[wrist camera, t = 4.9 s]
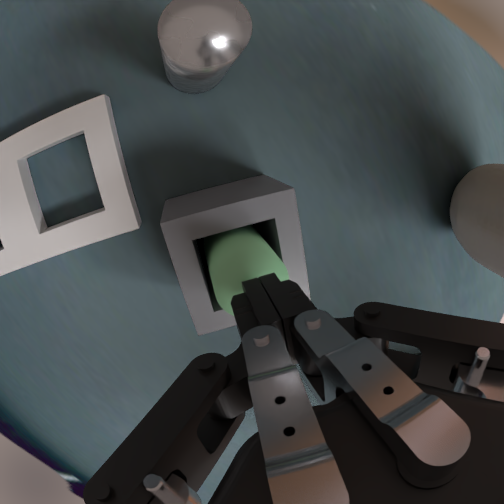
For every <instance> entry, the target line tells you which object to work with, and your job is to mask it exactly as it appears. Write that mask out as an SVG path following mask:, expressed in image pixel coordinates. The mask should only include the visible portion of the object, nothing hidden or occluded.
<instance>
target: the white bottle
mask: <svg viewBox="0 0 504 504" xmlns="http://www.w3.org/2000/svg"><path fill="white" fill-rule="evenodd" d="M450 220H451V225H452V229H453V232H454V234H455V236H456V238H457V239H458V241H459V242H460V244H461V245H462V247H463V248H464V249H465V251H466V252H467V253H468V254H469V255H470V256H471V257H472V258H473V259H474V260H476V261H477V262H478V263H480V264H481V265H483V266H484V267H486V268H488V269H489V270H491V271H493V272H494V273H496V274H498V275H500V276H501V277H503V278H504V164H486V165H482V166H479V167H476V168H474V169H472V170H471V171H470V172H468V173H467V174H466V175H465V176H464V177H463V179H462V180H461V181H460V182H459V183H458V185H457V186H456V188H455V190H454V193H453V196H452V199H451V206H450Z"/></svg>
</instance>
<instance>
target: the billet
mask: <svg viewBox="0 0 504 504" xmlns="http://www.w3.org/2000/svg"><path fill="white" fill-rule="evenodd" d="M157 31H158V38H159V43H160V48H161V53H162V58H163V63H164V67H165V72H166V76H167V78H168V80H169V82H170V83H171V84H172V86H174V87H175V88H176V89H178V90H179V91H181V92H184V93H188V94H199V93H204V92H206V91H209V90H211V89H212V88H214V87H215V86H216V85H217V84H218V83H219V82H220V81H221V79H222V78H223V77H224V75H225V74H226V72H227V71H228V70H229V68H230V67H231V66H232V64H233V63H234V62H235V60H236V59H237V58H238V56H239V55H240V54H241V52H242V51H243V50H244V48H245V47H246V45H247V44H248V42H249V40H250V37H251V33H252V21H251V17H250V14H249V13H248V11H247V9H246V8H245V6H244V5H243V4H242V3H241V2H240V1H239V0H173V1H172V2H170V3H169V4H168V5H167V7H166V8H165V9H164V10H163V12H162V14H161V16H160V19H159V22H158V30H157Z"/></svg>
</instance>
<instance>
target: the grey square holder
mask: <svg viewBox="0 0 504 504" xmlns="http://www.w3.org/2000/svg"><path fill="white" fill-rule="evenodd" d="M254 223H255V224H256V228H257V232H258V233H259V234H260V235H261V236H262V238H263V239H264V240H265V241H266V242H267V244H268V245H269V246H270V247H271V249H272V250H273V251H274V252H275V253H276V255H277V256H278V257H279V258H280V259H281V261H282V262H283V263H284V265H285V266H286V268H287V271H288V275H289V280H291V281H293V282H295V283H297V284H298V285H299V286H300V288H301V289H302V290H303V292H304V293H305V295H307V297H308V298H309V299H310V291H309V283H308V276H307V268H306V261H305V254H304V247H303V240H302V233H301V227H300V220H299V214H298V208H297V202H296V196H295V190H294V188H293V187H290V186H288V185H286V184H284V183H282V182H280V181H277V180H275V179H273V178H271V177H268V176H266V175H260V176H255V177H251V178H247V179H243V180H239V181H235V182H231V183H227V184H223V185H219V186H215V187H211V188H207V189H204V190H200V191H196V192H192V193H189V194H185V195H182V196H178V197H175V198H171V199H168V200H165V204H164V208H163V212H162V217H161V221H160V225H161V228H162V232H163V235H164V238H165V241H166V244H167V248H168V251H169V254H170V257H171V260H172V263H173V266H174V269H175V272H176V275H177V278H178V281H179V284H180V286H181V289H182V292H183V295H184V298H185V301H186V303H187V306H188V309H189V312H190V314H191V317H192V320H193V322H194V325H195V328H196V330H197V333H198V336H199V335H203V334H207V333H210V332H214V331H217V330H221V329H224V328H228V327H231V326H235V325H237V324H236V321H235V317H234V316H233V315H231V314H229V313H227V312H226V311H225V310H224V309H222V307H221V306H220V305H219V303H218V302H217V299H216V296H215V293H214V289H213V284H212V280H211V276H210V272H209V268H207V269H204V266H203V262H202V259H201V256H200V252H199V249H198V245H197V242H196V239H199V238H203V237H206V236H210V235H213V234H217V233H221V232H224V231H228V230H232V229H235V228H239V227H243V226H246V225H250V224H254ZM310 300H311V299H310Z"/></svg>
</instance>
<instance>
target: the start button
mask: <svg viewBox="0 0 504 504" xmlns="http://www.w3.org/2000/svg"><path fill="white" fill-rule="evenodd" d="M204 251H205V256H206V260H207V264H208V268H209V272H210V276H211V280H212V284H213V289H214V293H215V296H216V299H217V302H218V303H219V305H220V306H221V307H222V309H224V310H225V311H226V312H227V313H229V314H231V315H233V316H234V314H233V310H232V307H231V300H232V297H233V296H234V295H237V294H241V293H244V292H243V288H242V283H241V282H242V281H246V280H249V279H253V278H256V277H257V278H258V277H260V276H263V275H267V274H270V273H275V274H276V275H277V277H278V278H279V280H280V281H285V280H288V279H289V275H288V271H287V268H286V266H285V265H284V263H283V262H282V261H281V259H280V258H279V257H278V256H277V255H276V253H275V252H274V251H273V250H272V249H271V247H270V246H269V245H268V244H267V242H266V241H265V240H264V239H263V238H262V236H261V235H260V234H259V233H258V232H257V230H256V229H255V228H254V227H253V225H252V224H250V225H246V226H243V227H239V228H235V229H232V230H228V231H224V232H221V233H217V234H213V235H210V236H206V237H205V239H204Z"/></svg>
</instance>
